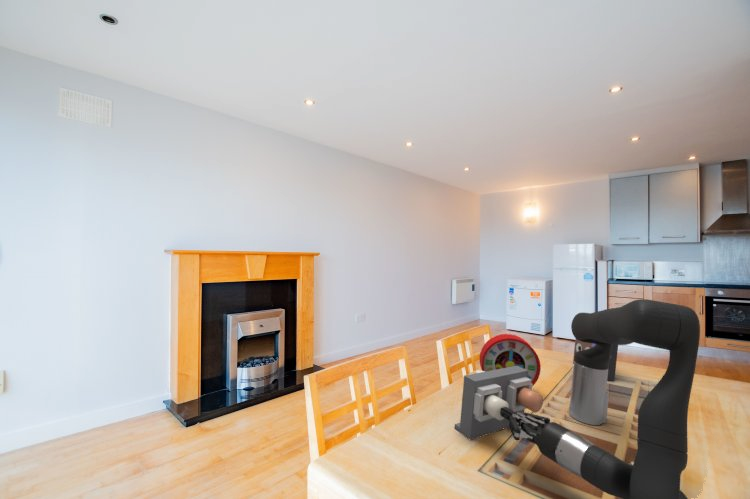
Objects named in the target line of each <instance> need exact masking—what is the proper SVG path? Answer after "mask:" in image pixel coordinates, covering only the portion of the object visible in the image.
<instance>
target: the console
mask: <svg viewBox="0 0 750 499" xmlns="http://www.w3.org/2000/svg"><path fill="white" fill-rule="evenodd" d="M532 385H533V384H531V379H529V378H528V370H526V369H523V368H521V367H519V366H513V367H507V368H502V369H497V370H491V371H486V372H481V373H476V372H475V373H472V374H471V373H470V374H466V375H463V386H462V398H461V410H460V421H459V422H457V423H454V429H455V430H456V431H457V432H458V433H460V434H461V435H463V437H465V438H467V439H468V440H469V439H470V440H469V441H471V440H474V439H477V437H478V438H480V436H481V437H484V436H486V434H487V435H490V434H493V433H496V432H499V431H498V430H500V431H502V430H501V429H503V428H506V427H509V422H510V421H508V420H507V419H505V418H504V419H503V420H498V419H496V418H494V417H493V416H491V415H490V414H488V413H486V412H485V411H484V410H483V405H484V398H485V396H486V395H488V394H493V395H495V396H497V397H499V398H501V399H502V400H504V401H506V402H507V403H508V405H509V409H511V410H512V411H514V412H516V413H521V414H524V413H525V411H526V409H527V408H525V407H524V406H522V405H520V404H519V403H518V399H517V398H518V394H519V392H520V390H521V389H522V388H528V389H530V390H532V391H533V386H534V385H533V386H532ZM527 410H528V409H527ZM506 429H507V428H506ZM503 430H504V429H503ZM495 431H496V432H495ZM492 432H493V433H492ZM489 433H490V434H489ZM483 435H484V436H483Z"/></svg>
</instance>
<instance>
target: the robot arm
mask: <svg viewBox="0 0 750 499" xmlns="http://www.w3.org/2000/svg"><path fill="white" fill-rule="evenodd" d="M570 329H571V333H572V335H573V337H574V338H575V339H577V340H579V341H582V342H587V343H594V344H596V345H595V346H594V347H592V348H590V349H587V350H581V351H578V352H576V353H575V357H574V356H573V358H574V366H573V368H572V370H573V371H572V377H571V378H572V379H571V388H570V397H569V398H570V400H569V405H568V406H569V407H568V408H569V409H568V414H569V415H570V416H571V417H572V418H574V419H575V420H577V421H578V422H580V423H584V424H587V425H591V426H592V425H593V426H599V425H600V424H601V425H603V424H607V419H608V418H607V417H608V408H609V398H610V393H609V392H608V391H607V385H608V381H607V377H608V368H609V362H610V357H611V350H612V344H613V345H618V346H627V345H631V344H633V343H635V344H639V345H642V346H647V347H652V348H657V349H661V350H665V351H668V352H669V359H668V365H667V368H666V370H665V373H664V374H663V376H662V377H661V378H660V379H659V381H658V382H657V383H656V384H655V386H654V387H653V388H652V389H651V390H650V391H649V392H648V394H647V395H646V396H645V397H644V399H643V400H642V402H641V404H640V406H639V410H638V414H637V432H636V433H637V437H636V438H637V442H636V443H637V451H636V455H635V457H634V460H633V465H632V464H630V463H629V462H625V461H624V460H622V459H620V458H618V457H617V456H615V455H614V454H612V453H610V452H609V451H607V450H604V449H603V448H601V447H600V446H598V445H596V444H594V443H592V442H591V441H590V440H588V439H587V438H586V437H583V436H581V435H580V434H578V433H575V432H574V431H572V430H570V429H568V428H567V427H565V426H562V425H561V424H559V423H557V422H555V421H551V419H550V418H549V417H545V416H541V415H537V414H533V413H530V412H524V414H521V413H516V412H514V411H512V410H511V409H509V408H507V407H503V408H501V412H500V415H501V416H502V417H503V418H505V419H507V420H508V421H510V422H509V428H508V429H509V431H510V433H511V435H512V437H513V439H514V440H515V441H520V439H526V440H527V441H528V442H530V443H533V444H534V445H536V446H537V448H538V449H539V451H540V453H541V454H542V455H543V456H544V457H546V458H547V459H550V460H551V461H553V463H555V464H557V465H558V466H560V467H562V468H563V469H565V470H566V471H569V473H571V474H573V475H574V476H577V477H579V478H581V479H583V480H584V481H586V482H588V483H589V484H591V485H592V486H594V487H595V488H597V489H599V491H602V492H604V493H606V494H608V495H610V496H613V497H616V498H620V499H689V498H688V497H687V495H686V494H685V493H684V492H683V491H682V489H681V476H682V472H683V471H684V470H685V469H686V467H687V465H688V457H689V456H688V453H689V452H688V449H689V448H688V443H689V441H688V416H689V415H688V414H689V404H690V400H691V393H692V390H693V389H692V388H693V382H694V377H695V374H696V366H697V359H698V354H699V346H700V339H701V323H700V318H699V316H698V314H697V313H696V311H695V309H692V308H691V307H689V306H686V305H681V304H676V303H672V302H671V303H670V302H665V301H658V300H655V299H642V298H641V299H640V298H639V299H634V300H632V301H629V302H628V303H626V304H623V305H621V306H618V307H611V308H607V309H603V310H598V311H595V312H579V313H577V314H575V315H574V316H573V318H572V320H571V328H570ZM602 423H603V424H602ZM601 425H600V426H601Z"/></svg>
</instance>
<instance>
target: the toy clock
mask: <svg viewBox="0 0 750 499" xmlns="http://www.w3.org/2000/svg"><path fill="white" fill-rule="evenodd" d="M479 365H480V369H481V371H485V372H486V371H491V370H497V369H502V368H507V367H513V366H519V367H521V368H523V369H526V370H528V378H529V379H531V384H533V385H532V387H533V386H535V384H536V383H537V382H538V380H539V378H540V375H541V367H542V366H541V365H542V364H541V361H540V358H539V355H538V354H537V352H536V351H535V350H534V348H533V347H532V346H531V344H529V343H528V342H527V341H526V340H525V339H524V338H522V337H520V336H518V335H515V334H513V333H512V334H511V333H501V334H498V335H495V336H493V337H491V338H490V339H488V340H487V341H486V342H485V343H484V344H483V345H482V347H481V351H480V352H479Z"/></svg>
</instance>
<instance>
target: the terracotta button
mask: <svg viewBox="0 0 750 499" xmlns="http://www.w3.org/2000/svg"><path fill="white" fill-rule="evenodd" d="M517 399H518V403H519V404H520V405H522V406H524V407H525V408H527V410H529V411H531V412H533V413H535V414H536V413H539V412H540V410H541V409H542V408H543V405H544V397H543V396H542V395H541V394H540V393H537V392H536V391H534V390H533V389H532V390H530V389H528V388H522V389H521V390H520V392H519V394H518V398H517Z"/></svg>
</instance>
